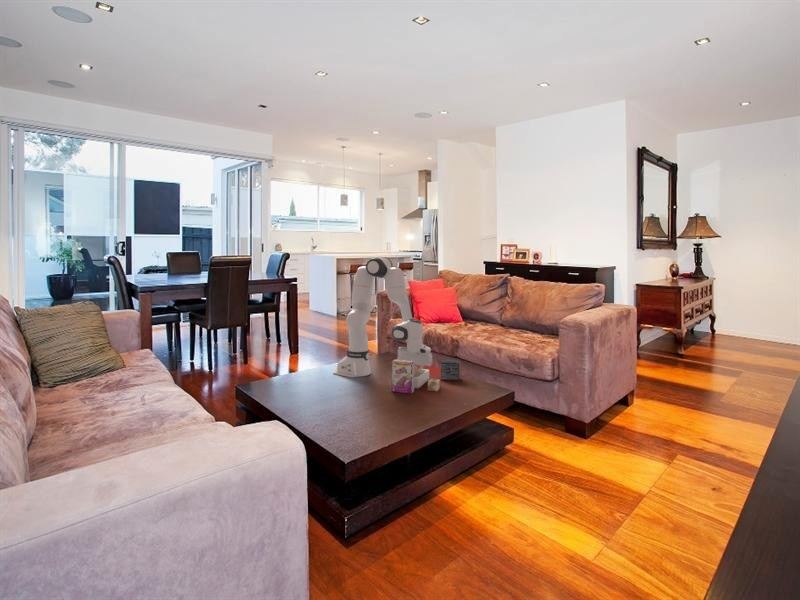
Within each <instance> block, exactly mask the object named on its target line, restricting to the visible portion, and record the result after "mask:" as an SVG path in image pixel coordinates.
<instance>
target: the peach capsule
mask: <svg viewBox="0 0 800 600" xmlns="http://www.w3.org/2000/svg"><path fill="white" fill-rule="evenodd" d="M419 369H420V365H415V369H414V377H419V373H418V370H419Z"/></svg>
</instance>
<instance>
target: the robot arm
mask: <svg viewBox="0 0 800 600" xmlns="http://www.w3.org/2000/svg"><path fill="white" fill-rule="evenodd" d="M375 278H380V279H382V278H383V279H384V281H385V282H384V283H385V290H386V295H387V299H388V300H389V301H390V302H392V303H394V304H396V305H397V306H398V307H399V311H400V314H401V320H402V323H398V324H396V325H394V326H393V327H392V329H391V331H390V332H391V337H392V339H394V341H396V342H406V346H399V347H398V348H397V357H396V359H397V360H406V361H414V362H415V365H419V370H418V373H421V372H422V369H424V367H431V366H432V365H433V354H432V352H431V351H432V348H431V347H430V346H427V345H425V344H424V342H423V336H424V333H423V332H424V328H423V323H422V321H421V320H419V319H418V318H417V319H416V318H414V317H413V311H412V306H411V302H410V299H409V296H408V294H407V287H406V286H407V285H406V282H405V277H404V273H403V270H402V269H401V268H400V267H396V266H395V267H394V265H393V262H392V261H391V259H390V258H388V257H386V256H376V257H371V258H370V259H368V261H367V262H366V263H365V265H361V266H359V267H358V268H357V270H356V274H355V276H354V280H353V287H352V293H351V294H352V295H351V298H352V299H351V302H352V306H351V307H352V308H351V310H350V312H348V313H347V315H346V319H345V322H346V325H347V326H346V327H347V332H348V344H349V345H348V346H349V349H348V350H347V351H345V354H346V356H344V357H343V358H341V359H340V360H339V361H338V362H337V364H336V365H337V366H336V368H335V369H334V370H333V371H332V372H333V373H332V374H334V375H338V376H343V377H346V378H357V377H367V376H370V375H371V374H372V372H371V368H370V367H371V366H370V362H369V360H370V351H369V336H368V332H367V330H368V329H367V323H369V321H370V318H371V306H372V304H371V300H372V293H373V287H374V280H375Z"/></svg>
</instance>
